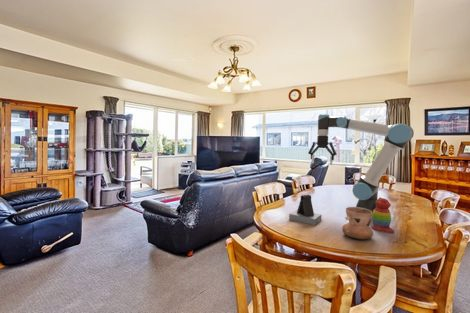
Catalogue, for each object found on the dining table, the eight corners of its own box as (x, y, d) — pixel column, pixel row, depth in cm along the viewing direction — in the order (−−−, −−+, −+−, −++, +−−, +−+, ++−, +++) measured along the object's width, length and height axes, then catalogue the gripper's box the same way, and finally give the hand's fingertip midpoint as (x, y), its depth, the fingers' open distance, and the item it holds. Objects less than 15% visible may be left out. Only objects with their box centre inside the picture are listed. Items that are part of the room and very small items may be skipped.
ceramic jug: (356, 244, 123) (358, 215, 122) (334, 233, 136) (335, 207, 135) (382, 239, 130) (384, 212, 129) (358, 229, 143) (360, 204, 142)
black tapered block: (314, 215, 156) (314, 196, 155) (306, 216, 153) (307, 197, 152) (304, 211, 164) (304, 193, 163) (296, 212, 161) (297, 194, 160)
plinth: (321, 220, 159) (321, 214, 158) (314, 225, 149) (314, 219, 149) (297, 214, 168) (297, 209, 168) (289, 219, 159) (289, 213, 159)
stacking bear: (395, 233, 138) (397, 201, 136) (374, 231, 140) (376, 200, 138) (387, 226, 148) (389, 196, 147) (368, 225, 150) (370, 195, 149)
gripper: (342, 135, 183) (340, 165, 184) (308, 135, 198) (307, 162, 199) (339, 135, 177) (337, 165, 178) (304, 135, 192) (303, 163, 193)
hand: (321, 164), depth 189 cm, fingers open, 13 cm apart
